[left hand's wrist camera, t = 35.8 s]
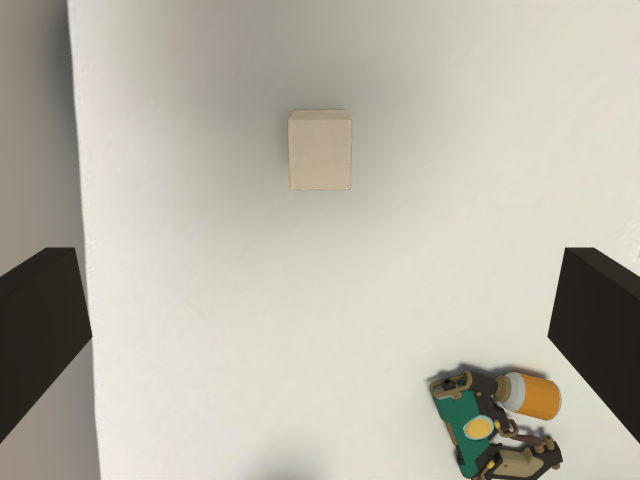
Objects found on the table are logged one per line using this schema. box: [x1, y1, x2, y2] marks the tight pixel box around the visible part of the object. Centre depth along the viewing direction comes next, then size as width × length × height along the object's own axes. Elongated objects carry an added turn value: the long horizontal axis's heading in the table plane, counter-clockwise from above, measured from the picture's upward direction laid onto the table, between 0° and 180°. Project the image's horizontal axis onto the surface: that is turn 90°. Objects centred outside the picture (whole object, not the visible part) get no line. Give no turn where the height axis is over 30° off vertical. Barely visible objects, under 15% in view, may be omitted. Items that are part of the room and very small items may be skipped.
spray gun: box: [430, 370, 563, 480], centre depth 51 cm, size 4×17×15 cm
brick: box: [288, 110, 352, 190], centre depth 38 cm, size 5×5×9 cm
